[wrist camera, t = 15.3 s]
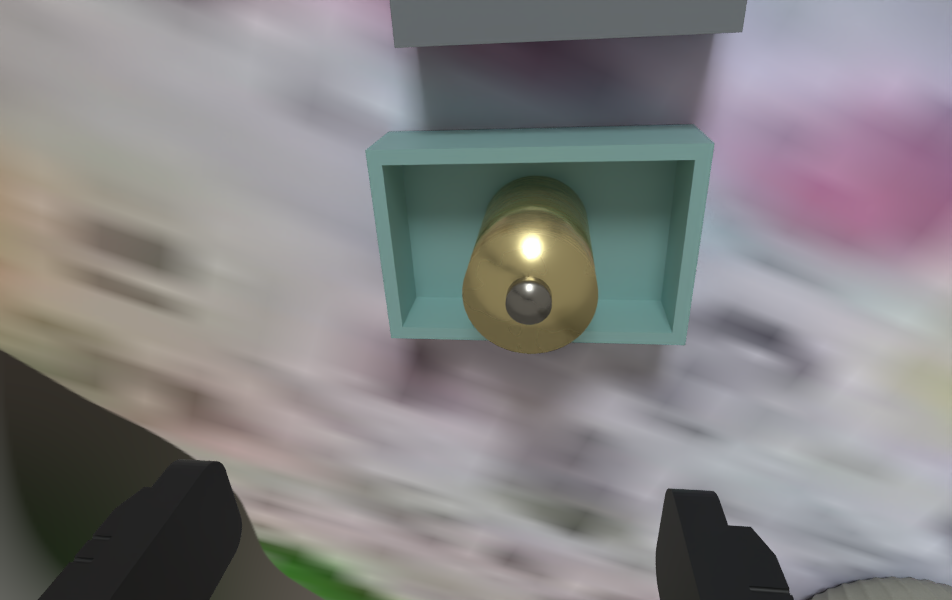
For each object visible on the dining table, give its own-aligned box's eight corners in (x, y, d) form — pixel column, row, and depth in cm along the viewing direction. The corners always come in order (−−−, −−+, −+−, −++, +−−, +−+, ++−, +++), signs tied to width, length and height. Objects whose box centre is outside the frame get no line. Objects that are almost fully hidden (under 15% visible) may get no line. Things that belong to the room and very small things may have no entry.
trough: (408, 301, 30) (391, 338, 26) (388, 131, 26) (365, 150, 22) (670, 305, 28) (685, 344, 25) (693, 123, 24) (714, 143, 21)
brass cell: (481, 176, 25) (454, 240, 19) (590, 174, 25) (603, 239, 18) (485, 273, 28) (464, 361, 21) (585, 273, 27) (596, 364, 20)
